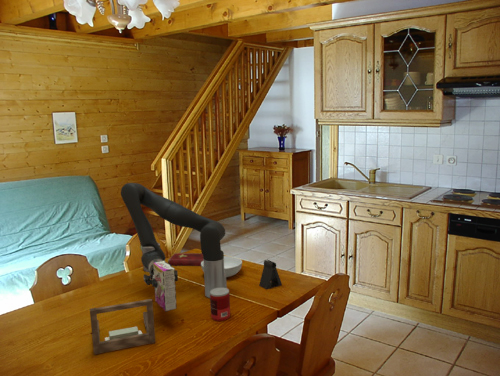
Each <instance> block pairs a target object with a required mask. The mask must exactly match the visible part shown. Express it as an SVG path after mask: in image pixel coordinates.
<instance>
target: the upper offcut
mask: <svg viewBox="0 0 500 376" xmlns="http://www.w3.org/2000/svg"><path fill="white" fill-rule="evenodd" d="M138 331H139V329H138V326H133V327H126V328H120V329H115V330H109V331H108V337H109V338H110V340H112V339H117V338H123V337H128V336H133V335H139V334H138Z"/></svg>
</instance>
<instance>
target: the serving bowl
mask: <svg viewBox="0 0 500 376" xmlns="http://www.w3.org/2000/svg"><path fill="white" fill-rule="evenodd" d="M242 265H243V260H242V259H241V258H238V257H235V256H228V255H224V270H225V275H226V278H230V277H232V276H235V275H236V274H237V273H238V272H240V271H241V269H242ZM200 267H201V270H202V272H204V261H202V262H201V266H200Z"/></svg>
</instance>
